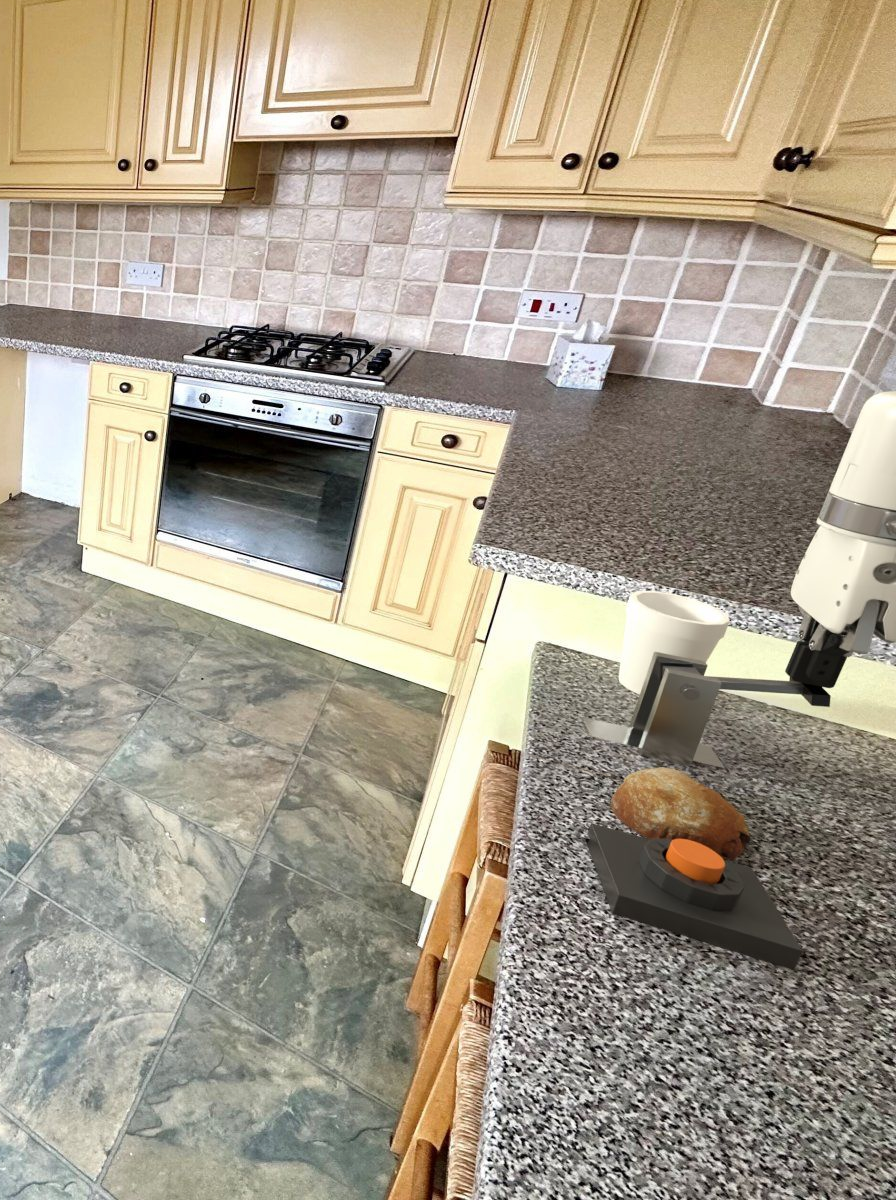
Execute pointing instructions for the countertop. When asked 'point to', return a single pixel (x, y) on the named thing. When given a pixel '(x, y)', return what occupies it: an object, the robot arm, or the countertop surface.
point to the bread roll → (679, 811)
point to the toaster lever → (768, 686)
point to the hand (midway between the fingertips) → (808, 680)
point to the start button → (695, 860)
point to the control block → (690, 898)
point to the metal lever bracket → (668, 714)
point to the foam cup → (666, 632)
